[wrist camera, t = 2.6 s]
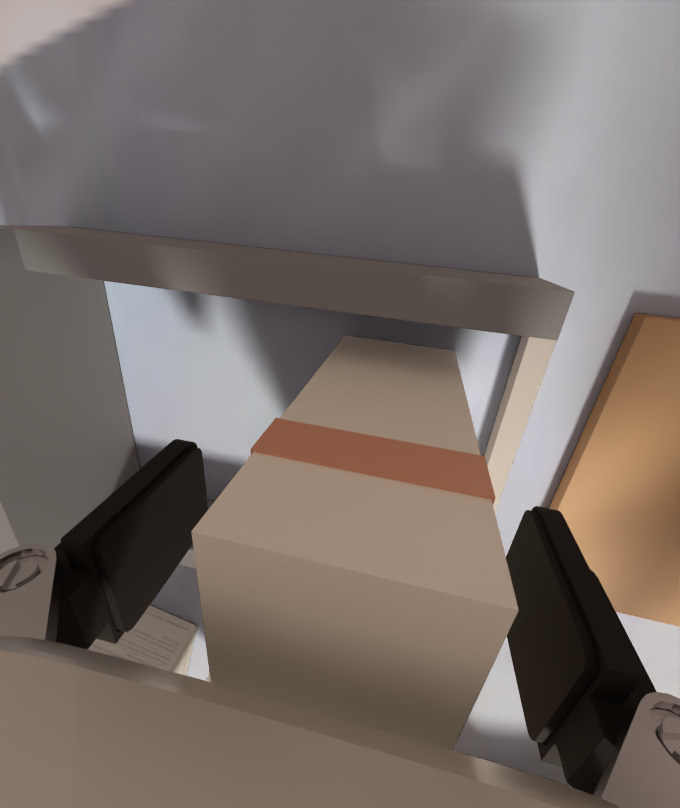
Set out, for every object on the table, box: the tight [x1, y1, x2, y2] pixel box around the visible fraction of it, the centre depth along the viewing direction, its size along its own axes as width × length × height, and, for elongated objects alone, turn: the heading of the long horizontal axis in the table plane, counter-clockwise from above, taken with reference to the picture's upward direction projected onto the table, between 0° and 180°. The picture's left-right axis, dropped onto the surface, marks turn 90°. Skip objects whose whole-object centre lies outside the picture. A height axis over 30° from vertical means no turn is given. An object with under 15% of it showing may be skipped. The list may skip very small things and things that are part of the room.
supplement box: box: [89, 605, 197, 676], centre depth 20 cm, size 7×7×13 cm
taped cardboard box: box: [191, 336, 519, 750], centre depth 11 cm, size 4×8×10 cm, turn 175°
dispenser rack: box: [0, 225, 574, 569], centre depth 13 cm, size 18×13×6 cm
